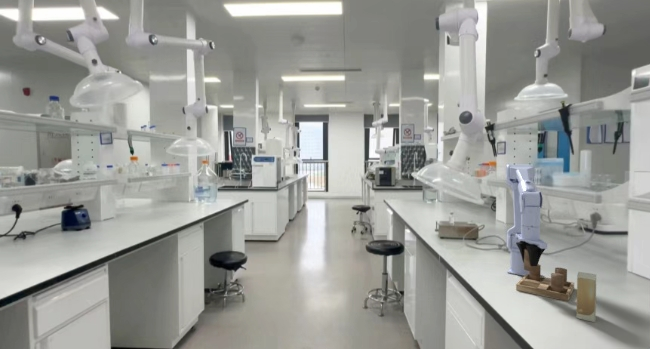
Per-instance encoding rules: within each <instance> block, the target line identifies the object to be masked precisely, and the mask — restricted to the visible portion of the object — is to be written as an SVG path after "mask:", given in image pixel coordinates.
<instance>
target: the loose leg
mask: <svg viewBox="0 0 650 349" xmlns="http://www.w3.org/2000/svg"><path fill="white" fill-rule="evenodd" d="M524 270H527V271H536V266H530V260H529V253H528V250H527V249H524Z"/></svg>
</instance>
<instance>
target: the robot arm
mask: <svg viewBox="0 0 650 349" xmlns="http://www.w3.org/2000/svg"><path fill="white" fill-rule="evenodd" d="M535 173H536V169H535V165H534V164H532V163H530V164H509V163H508V164H506V167H505V179H506V185H507V186H509V187H511V191H512V202H513V226H512V227H510V228H508V229H507V231H506V248H507V249H508V250H510V266H509V267H510V268H509V269H508V270H507V272H506V273H508V274H512V275H518V276H523V277H524V276H525V275H526V274H529V271H527V270H524V249H527V250H528V253H529V260H530V266H537V265H538V264H539V261H540V259H541V257H542V255H543V253H544V251H546V249H547V250H548V242H546V241H544V240H543V239H542V238H541V209H542V208H543V203H544V198H543V193H542V191H540V190H538V189H537V186H536V183H535V182H534V178H535Z"/></svg>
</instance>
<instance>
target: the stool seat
mask: <svg viewBox="0 0 650 349" xmlns="http://www.w3.org/2000/svg"><path fill="white" fill-rule="evenodd" d="M574 289H575V282H572V281H568V269H566V268H563V267H555V268H554V272H551V273H550V277H546V276H542V275H541V264H539V263H538V265H537V266H536V271H529V274H526V275H525V276H523V277H522V278H521V279H520V280H519V281H517V283H515V290H516V291H519V292H523V293H529V294H534V295H536V296H537V295H538V296H542V297H545V298H546V297H547V298H552V299H556V300H562V301H565V302H569V300H570V299H571V296H572V294H573V291H574Z"/></svg>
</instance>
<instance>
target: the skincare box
mask: <svg viewBox="0 0 650 349" xmlns="http://www.w3.org/2000/svg"><path fill="white" fill-rule="evenodd" d="M576 276H577V277H576V279H577V280H576V283H577V284H576V318H577V319H580V320H582V321H587V322H590V323H591V322H593V323H596V320H597V318H596V317H597V316H596V313H597V312H596V310H597V306H596V305H597V274H596V273H589V272H584V271H578V272H577V275H576Z"/></svg>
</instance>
